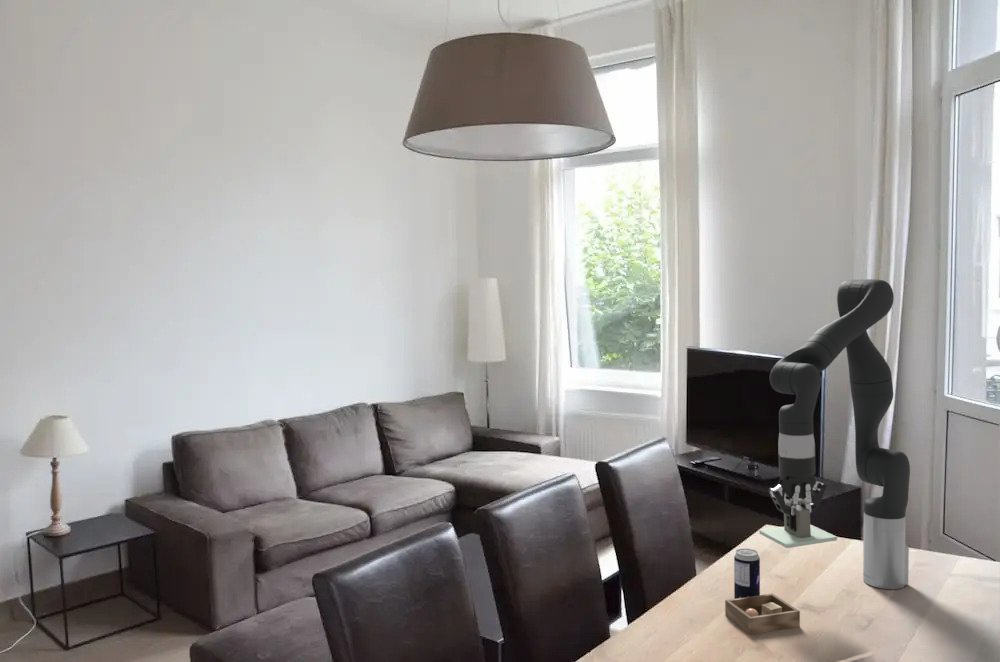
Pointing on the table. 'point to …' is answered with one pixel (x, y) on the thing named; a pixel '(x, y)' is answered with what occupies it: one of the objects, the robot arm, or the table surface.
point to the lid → (798, 532)
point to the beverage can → (746, 573)
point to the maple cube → (771, 608)
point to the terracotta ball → (752, 612)
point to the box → (762, 622)
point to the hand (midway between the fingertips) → (798, 529)
